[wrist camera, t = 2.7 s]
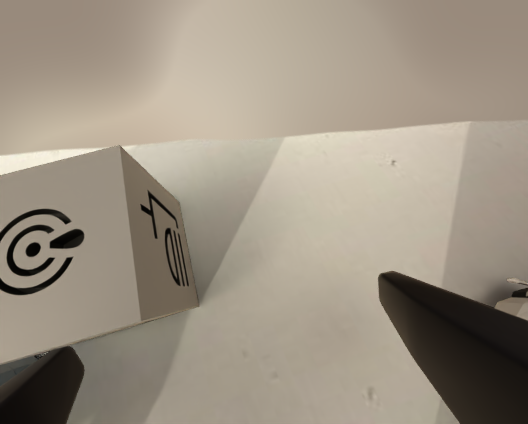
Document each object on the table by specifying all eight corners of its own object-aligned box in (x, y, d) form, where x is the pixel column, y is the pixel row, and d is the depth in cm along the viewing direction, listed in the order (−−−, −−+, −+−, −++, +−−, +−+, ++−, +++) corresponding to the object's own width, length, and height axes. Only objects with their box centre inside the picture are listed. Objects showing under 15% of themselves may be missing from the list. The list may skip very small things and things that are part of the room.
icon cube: (179, 202, 24) (119, 145, 14) (199, 306, 21) (141, 321, 12) (76, 230, 23) (-57, 189, 14) (82, 341, 20) (-82, 387, 11)
